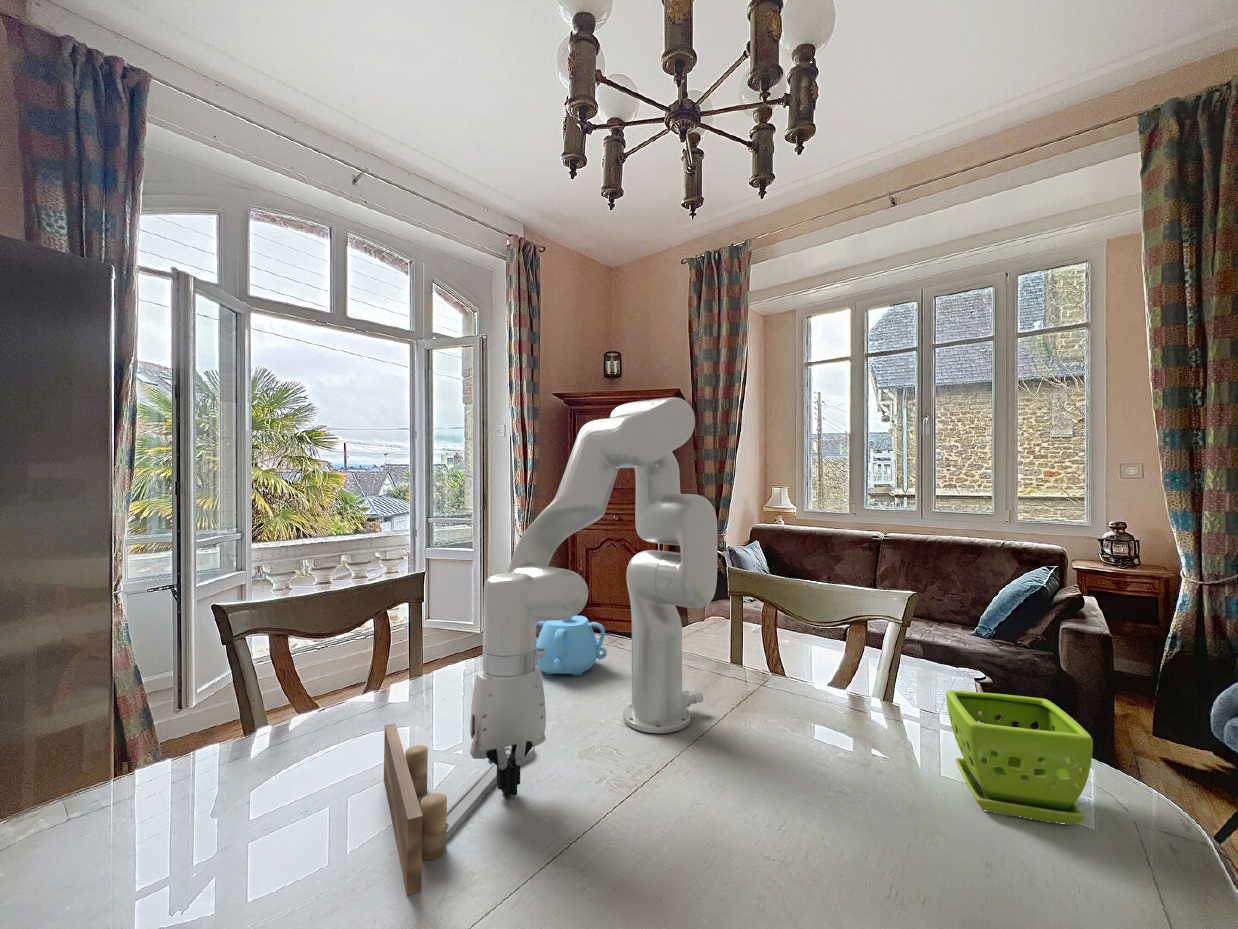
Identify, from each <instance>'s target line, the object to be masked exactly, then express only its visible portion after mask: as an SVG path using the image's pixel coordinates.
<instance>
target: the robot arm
mask: <svg viewBox="0 0 1238 929" xmlns="http://www.w3.org/2000/svg"><path fill="white" fill-rule="evenodd" d="M695 426H696V417H695V412H694V410H693V408H692V406H691V405H690V403H688V402H687V401H686V400H685V399H683V398H681V397H675V396H674V397H663V398H662V397H661V398H655V399H654V398H653V399H648V400H647V399H646V400H639V401H638V400H637V401H631V402H627V403H624V404H621V405H618V406H617V407H615V408H613V410H612V412H611V413H610V415H609V417H608V418H599V419H594V420H592V421H588V422H587V423H585V424H584V425H582V427H581V428H580V430H579V432H578V434H577V436H576V439H575V441H574V444H573V447H572V450H571V453H570V455H569V458H568V461H567V464H566V467H565V470H564V473H563V475H562V479H561V481H560V483H559V487H558V488H557V492H556V494H555V496H554V498H553V500H551V503H550V504H548V505H547V506H546V507H545V508H544V509H543V510H542V511H541V512H540V513H539V515H538V516H536V518H535V519H534V521H533V522H532V523H531V524H530V525H529V526H528V527H527V528H526V529H525V531H524V532H523V534H522V535H521V537H520V538H519V540H518V542H517V545H516V547H515V550H514V552H513V555H512V558H511V561H510V564H509V566H508V568H507V572H505V573H498V574H493V575H491V576H489V577H488V578H487V579H486V580H485V582H484V586H483V600H482V602H483V616H482V617H483V620H482V621H483V622H482V625H483V626H482V669H481V670H478V671H477V672H476V674H475V679H474V684H473V690H472V698H471V705H470V706H471V708H470V709H471V711H470V720H469V721H470V722H469V733H470V738H471V740H472V743H471V746H470V750H469V754H470V755H471V758H472V759H474V760H477V759H478V760H485V759H488V761H489V760H491V761H492V762H493V763H494V764H496V765H497V783H496V787H497V789H498V791H501V792H502V794H503V796H504V798H505V799H508V798H510V796H517V795H518V786H519V785H521V766H522V765H523V764H524V763H523V762H524V758H525V756H526V755H527V754H528V752H529V751H530V750H531V749H532V747H534V748H535V747H537V746H538V745H541V744H543V743H545V741H546V735H545V733H546V728H547V727H546V725H547V717H546V716H547V714H546V712H547V711H546V700H545V698H546V697H545V691H544V690H545V689H544V683H543V678H542V671H541V670H540V668H539V666H538V665H537V661H538V659H540V658H542V657H545V649H544V648H537V647H536V642H537V625H536V623H537V622H539V621H544V622H546V621H554V620H565V619H569V618H572V617H574V616H578V614H579V613H581V611H583V610H584V608H585V607H586V604H587V601H588V598H589V588H588V585H587V583H586V581H585V579H584V578H583V577H582V576H581V575H580V574H579V573H577V572H575V571H574V570H570V569H566V568H559V567H555V566H551V565H550V566H549V564H550V562H551V560H552V558H553V555H554V553H555V552H556V550H557V549H558V548H559V547H560V545H561V544H562V543H563V542H564V541H565V540H566V539H567V538H569V537H570V536H572V535H573V534H576V532H578V531H581V530H583V529H585V528H587V527H588V526H591V525H592V524H594V523H595V522H598V521H599V520H600V519H601V518H602V517H604V515H605V513H606V510H607V506H608V503H609V500H610V497H611V494H612V491H613V488H614V484H615V482H616V478H617V475H618V472H619V470H620V469H625V468H628V469H631V468H633V469H634V472H635V473H634V475H635V511H634V512H635V513H634V515H635V530H636V533H637V535H638V537H639V538H640V539H642V541H645V542H649V543H651V544H652V543H653V544H658V545H659V544H660V545H661V544H662V545H669V546H679V548H680V552H675V551H670V550H669V551H668V550H658V549H649V550H642V551H640V552H638V553H636V554H635V555H634V556H633V557H631V559H630V560H629V562H628V565H627V568H626V574H625V575H626V576H625V578H626V585H627V591H628V597H629V602H630V610H631V611H630V613H631V614H630V615H631V704H629V705H628V706H626V707H625V708H624V710H623V721H624V723H625V724H626V725H627V726H629V727H630V728H632V729H634V730H637V731H640V732H643V733H649V734H669V733H675V732H678V731H681V730H683V729H685V728H686V727H688V726H689V725H690V722H691V713H690V711H689V709H688V708H689V707H691V705H693V704H699V703H702V702H703V701H704V696H703V694H702V692H701V691H695V692H692V693H690V690H688V689H684V690H683V628H682V627H683V625H682V619H681V616H680V614H679V611H678V609H677V607H682V608H689V609H702V608H705V607H707V606H708V605H709V604H710V603H711V602H712V601H713V599H714V596H715V593H716V590H717V589H716V588H717V583H718V582H717V581H718V533H719V532H718V518H717V514H716V511H715V508H714V506H713V505H712V502H710V501H709V500H708V498H706V497H704V496H703V495H699V494H692V493H691V494H690V493H681V483H680V482H681V480H680V479H681V476H680V474H681V473H680V467H679V466H680V465H679V463H678V460H677V458H676V456H675V455H674V451H675V450H676V449H679V448H680V447H681V446H683V445H685V443H687V442H688V441H689V439H690V438H691V436H692V435H693V432H694V429H695ZM676 606H677V607H676ZM507 746H509V747H510V748H509V750H510V756H509V757H508V758H507V757H506V750H505V747H507ZM491 761H490V762H491ZM492 762H491V763H492Z"/></svg>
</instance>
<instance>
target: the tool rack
mask: <svg viewBox="0 0 1238 929" xmlns="http://www.w3.org/2000/svg"><path fill="white" fill-rule="evenodd" d="M397 727H398V726H397V723H396V722H393V723H390V724H389V723H388V724H384V736H383V737H384V746H383V753H384V754H383V782H384V787H385V792H386V797H387V802H388V807H389V813H390V818H391V821H392V827H393V828H392V829H393V833H394V837H395V843H396V848H397V853H398V858H399V862H400V864H399V865H400V869H401V873H402V878H403V883H404V889H405V894H406V896H409V895H412V894H415V893H419V892H421V891H422V880H423V879H422V875H423V874H422V872H423V870H422V868H423V867H422V866H423V865H422V864H423V863H422V862H423V859H424V860H435V859H438V858H440V857H442V856H443V855H444V854H445V853H446V851H447V840H446V825H447V809H448V806H447V805H448V798H447V794H444V793H440V792H435V793H430V794H428V795H426V794H427V792H428V763H429V762H428V755H429V754H428V752H429V751H428V750H429V749H428V748H429V747H428V746H427V745H423V744H418V745H413V746H412V745H411V747H409V748H407V749H406V750H405V751H404V749H403V748H404V747H403V744H402V740H401V738H400V737H401V736H400V734H399V731H398V728H397ZM425 795H426V796H425ZM421 797H423V798H422V799H421V801H420V802H419V799H420V798H421Z"/></svg>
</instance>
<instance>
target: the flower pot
mask: <svg viewBox="0 0 1238 929" xmlns="http://www.w3.org/2000/svg"><path fill="white" fill-rule="evenodd" d="M945 696H946V707H947V713H948V717H949V721H950V725H951V729H952V731H953V735H954V738H955V740H956V743H957V745H958V746H957V747H958V748H959V751H960V754H961V755H962V757H963V758H961V757H955V763H956V766H957V768H958V770H959V771H960V774H961V775H962V777H963V779H964V781H965V784H966V785H967V787H968V789H969V790H970V792H971V794H972V796H973V797H974V799H975V801H976V803H977V805H978V806H979V807H980V808H982V809H983V810H986V811H990V812H989V813H992V812H996V813H995V814H997V813H1001V814H1000V815H1003V814H1006V815H1005V816H1009V815H1012V816H1011V817H1014V816H1021V817H1026V818H1032V819H1037V820H1036V821H1038V820H1043V821H1042V822H1044V821H1049V822H1048V823H1050V822H1058V823H1065V824H1072V825H1076V824H1078V823H1080V822H1082V821H1084V819H1085V815H1084V814H1083V812H1082V811H1081V809H1080V808H1079V807H1078V806H1077V804H1076V802H1077V801H1078V800H1079V798H1080V796H1081V794H1082V793H1083V791H1084V789H1085V787H1086V784H1087V781H1088V778H1089V775H1090V770H1091V767H1092V760H1093V752H1094V751H1093V750H1094V746H1093V745H1094V742H1093V738H1092V736H1091V734H1089V732H1088V731H1086V729H1084V728H1083V726H1081V724H1079V723H1078V722H1077V720H1075V719H1074V718H1073V717H1072V716H1070V715H1069V714H1068V713H1067V712H1065V711H1064V710H1062V709H1061V708H1060V707H1059V706H1057V705H1056V704H1055V703H1053V702H1052V701H1051V700H1048V699H1046V698H1042V697H1031V696H1023V695H1013V694H1012V695H1011V694H1002V693H992V692H983V691H982V692H979V691H971V690H969V691H968V690H953V689H948V690H946V693H945ZM979 712H982V713H981V714H979ZM997 716H1000V718H999V719H998V720H997V719H996V717H997ZM978 721H980V722H978ZM1015 722H1018V727H1017V726H1016V727H1014V726H1013V723H1015ZM1034 723H1037V724H1038V728H1036V729H1034V728H1032V725H1033V724H1034ZM982 809H981V810H982ZM983 810H982V811H983ZM1026 818H1025V819H1026ZM1032 819H1031V820H1032ZM1072 825H1071V826H1072Z"/></svg>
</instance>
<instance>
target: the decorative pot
mask: <svg viewBox="0 0 1238 929" xmlns="http://www.w3.org/2000/svg"><path fill="white" fill-rule="evenodd" d="M536 626H542V627H541V630H540V632H539V634H538V636H537V638H536V647H537V648H544V649H545V657H542V658H540V659H538V661H537V665H538V666H539V668H540V671H541V672H543V673H544V674H545V675H547V676H550V675H552V674H553V675H555V674H566V675H568V674H569V675H572V676H574V675H580V676H582V675H583V673H584V672H586V671H588V670H589V669H591V668H592V667H593V665H594V664H595V662H596V661H597V659H598V660H603V659H605V658H606V657H607V656H608V655H607V654H608V651H607V649H606V648H605V647H602V645H603V643H604V640H605V637H606V629H605V627H604V626H603V624H601V623H599V622H596V621H592V622H590V621H589V620H588V618H587V617H586V616H583V615H576V616H574V617H572V618H569V619H565V620H554V621H539V622H537V623H536ZM593 627H594V628H598V629H599V630H600V636H599V640H598V642H597V638H596V635H595V631H594V630H593ZM600 652H603V653H602V654H601V653H600Z"/></svg>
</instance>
